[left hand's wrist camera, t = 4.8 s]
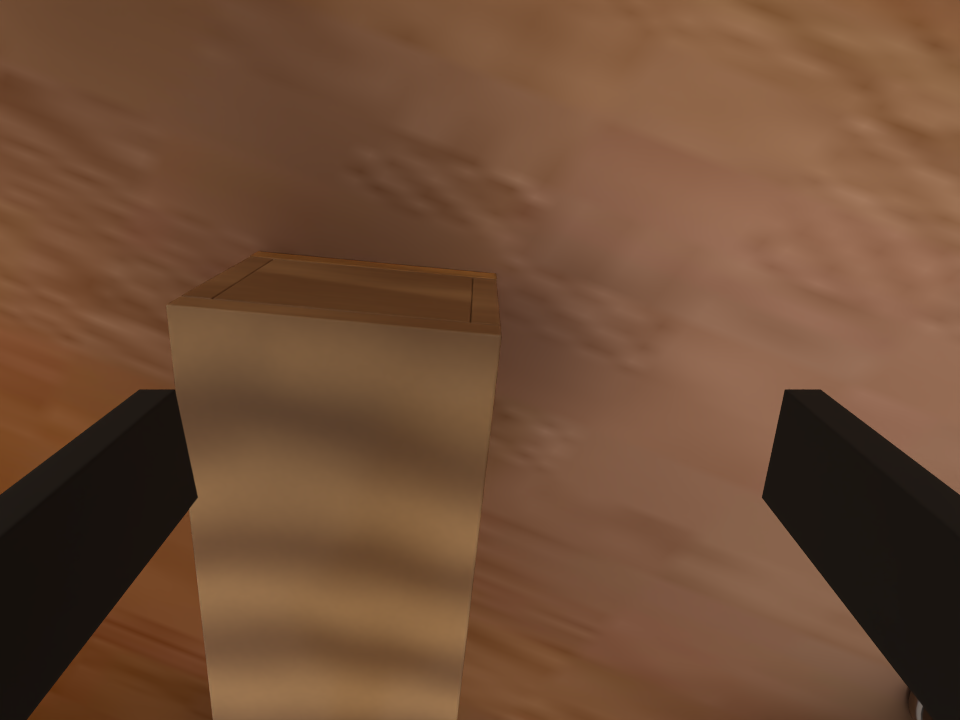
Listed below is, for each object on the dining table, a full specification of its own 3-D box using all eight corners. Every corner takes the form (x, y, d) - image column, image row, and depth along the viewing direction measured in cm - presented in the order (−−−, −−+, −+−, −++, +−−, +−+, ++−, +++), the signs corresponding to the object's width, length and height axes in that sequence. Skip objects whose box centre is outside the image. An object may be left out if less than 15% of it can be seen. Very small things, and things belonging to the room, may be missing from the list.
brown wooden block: (460, 601, 35) (454, 743, 27) (274, 587, 34) (212, 726, 26) (496, 273, 27) (502, 334, 19) (258, 251, 27) (164, 303, 19)
